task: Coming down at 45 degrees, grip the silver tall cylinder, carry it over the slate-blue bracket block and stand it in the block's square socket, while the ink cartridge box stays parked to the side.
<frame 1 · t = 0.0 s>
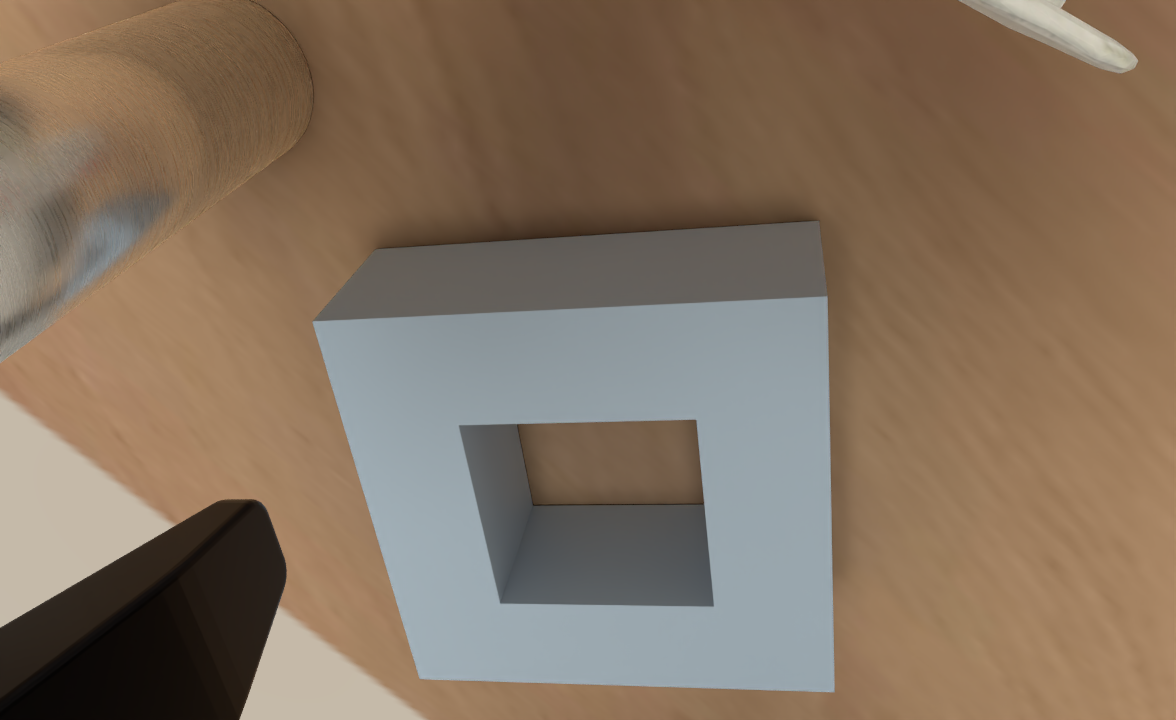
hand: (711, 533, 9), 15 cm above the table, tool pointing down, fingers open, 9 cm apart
silver tall cylinder: (232, 80, 23), on the table
bracket block: (613, 425, 26), on the table
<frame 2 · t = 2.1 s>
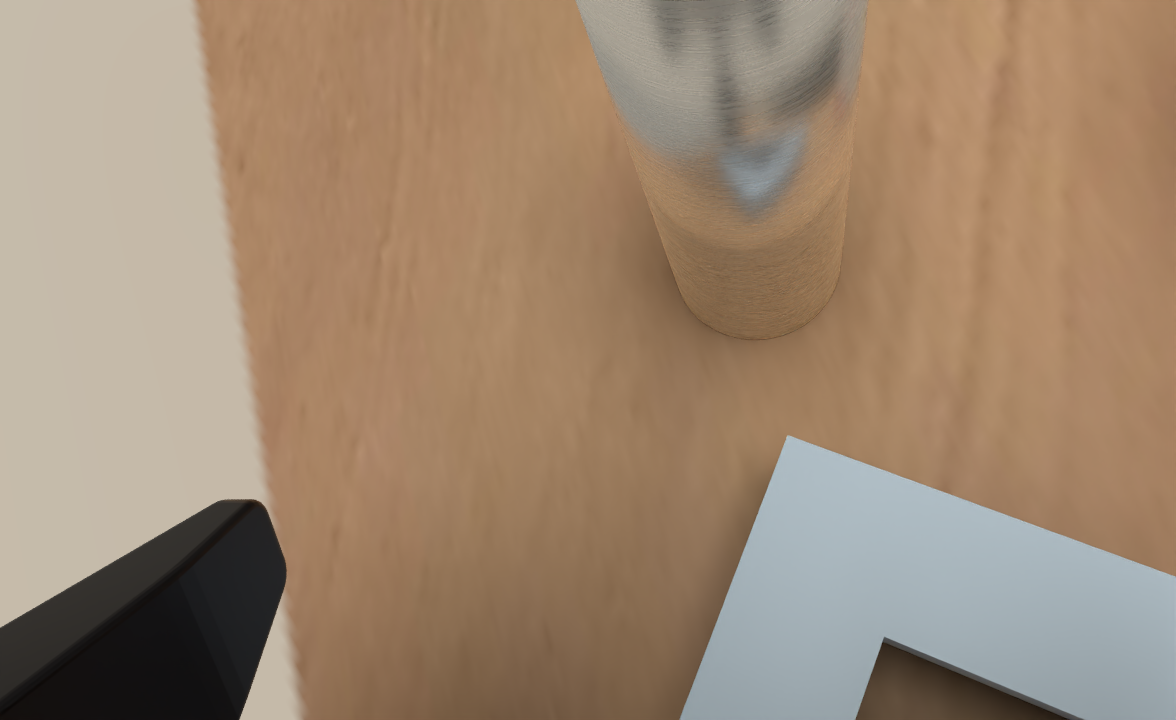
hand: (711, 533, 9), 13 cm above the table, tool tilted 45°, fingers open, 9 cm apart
silver tall cylinder: (756, 260, 24), on the table
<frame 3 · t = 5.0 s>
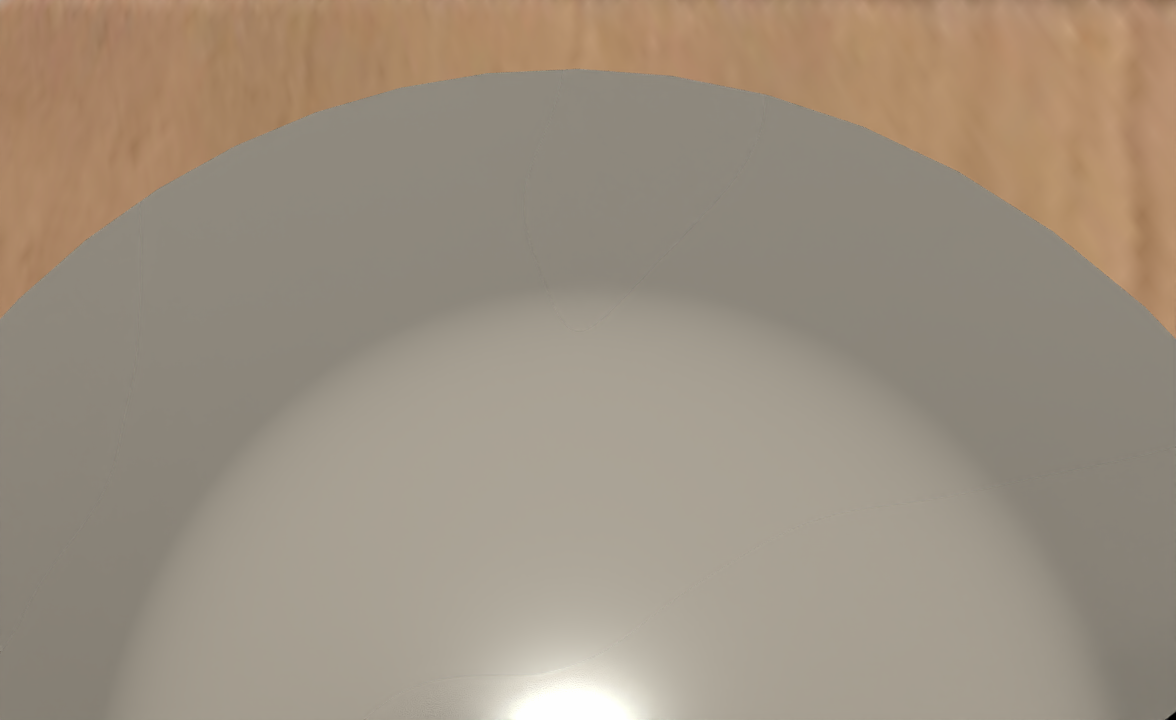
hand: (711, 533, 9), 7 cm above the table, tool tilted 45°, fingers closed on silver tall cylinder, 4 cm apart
silver tall cylinder: (751, 666, 15), on the table, touching gripper
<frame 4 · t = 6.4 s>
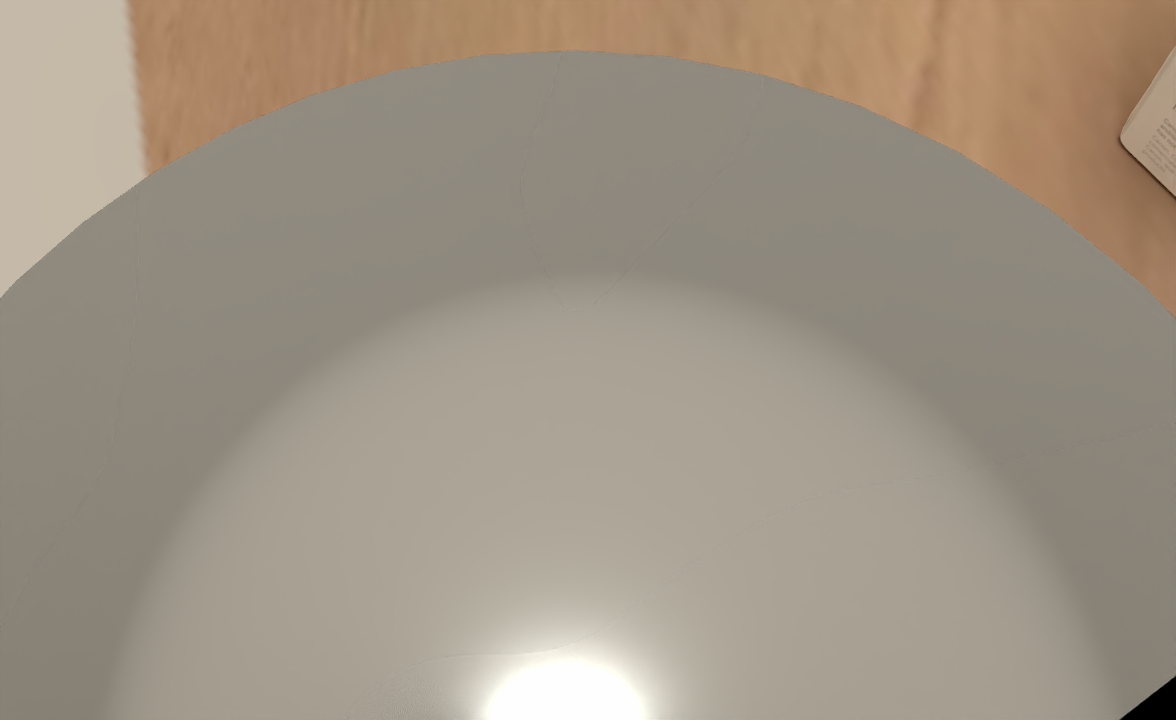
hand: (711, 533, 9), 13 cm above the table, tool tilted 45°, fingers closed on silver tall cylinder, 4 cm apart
silver tall cylinder: (751, 664, 15), point 6 cm above the table, touching gripper
when the fingers open (9 cm above the table, at t = 7.9 s): silver tall cylinder drops 2 cm, resting in bracket block.
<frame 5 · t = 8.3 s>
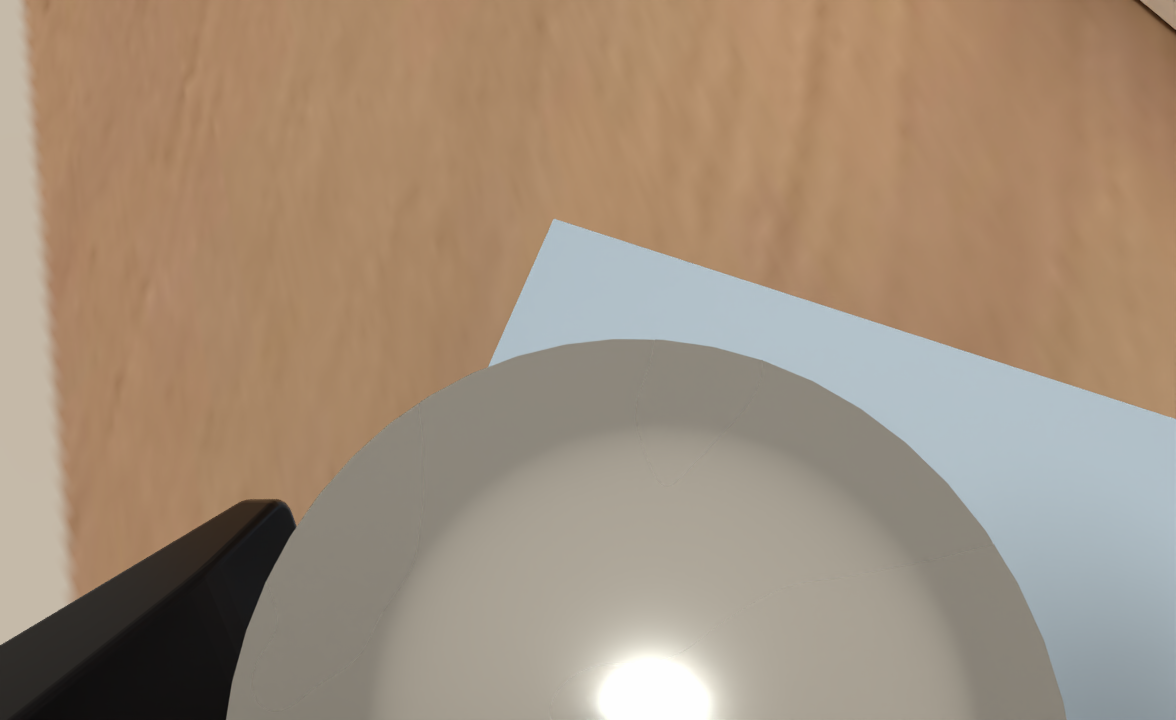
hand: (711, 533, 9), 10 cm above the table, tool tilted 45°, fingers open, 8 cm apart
silver tall cylinder: (756, 665, 18), resting in bracket block
bracket block: (758, 662, 18), on the table
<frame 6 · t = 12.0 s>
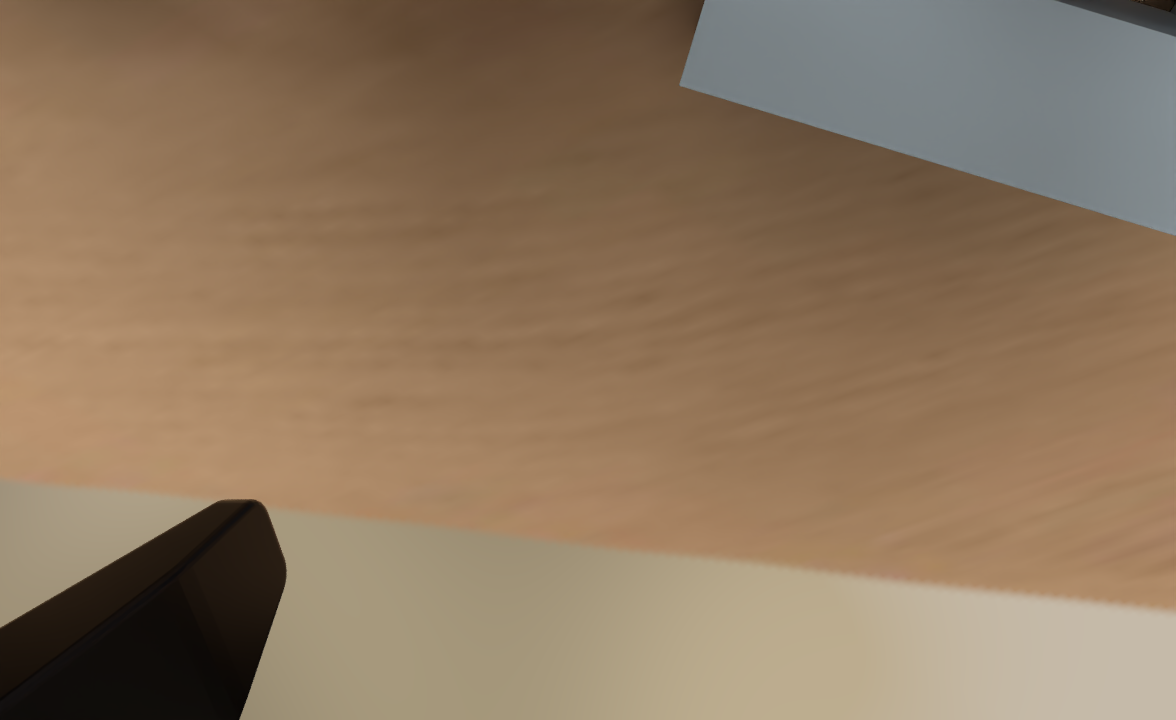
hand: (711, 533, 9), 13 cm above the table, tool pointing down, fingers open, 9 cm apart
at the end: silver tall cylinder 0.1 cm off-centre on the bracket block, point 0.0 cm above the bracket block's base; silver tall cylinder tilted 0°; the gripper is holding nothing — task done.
